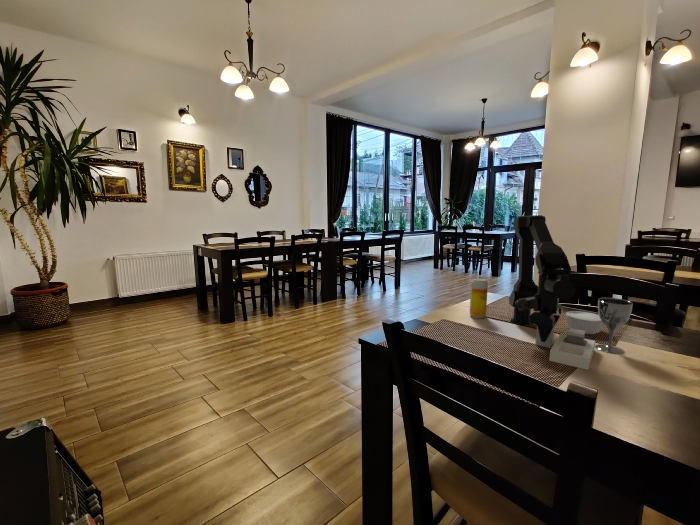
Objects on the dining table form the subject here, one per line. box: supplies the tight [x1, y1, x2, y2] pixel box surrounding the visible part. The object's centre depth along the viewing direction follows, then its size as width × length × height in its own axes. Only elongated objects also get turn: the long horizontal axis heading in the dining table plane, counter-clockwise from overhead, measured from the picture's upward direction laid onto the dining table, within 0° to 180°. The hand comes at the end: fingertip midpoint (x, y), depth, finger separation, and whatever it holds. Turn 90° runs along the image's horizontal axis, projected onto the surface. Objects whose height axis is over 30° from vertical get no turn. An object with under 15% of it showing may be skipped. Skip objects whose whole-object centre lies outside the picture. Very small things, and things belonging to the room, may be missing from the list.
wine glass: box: [594, 297, 634, 355], centre depth 100 cm, size 8×8×15 cm
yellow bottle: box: [469, 277, 489, 319], centre depth 132 cm, size 6×6×15 cm
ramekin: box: [565, 310, 604, 335], centre depth 117 cm, size 11×11×5 cm
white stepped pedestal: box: [549, 328, 596, 371], centre depth 96 cm, size 16×9×6 cm, turn 140°
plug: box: [535, 325, 555, 349], centre depth 105 cm, size 4×4×6 cm
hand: (544, 339), depth 105 cm, fingers closed on plug, 4 cm apart
